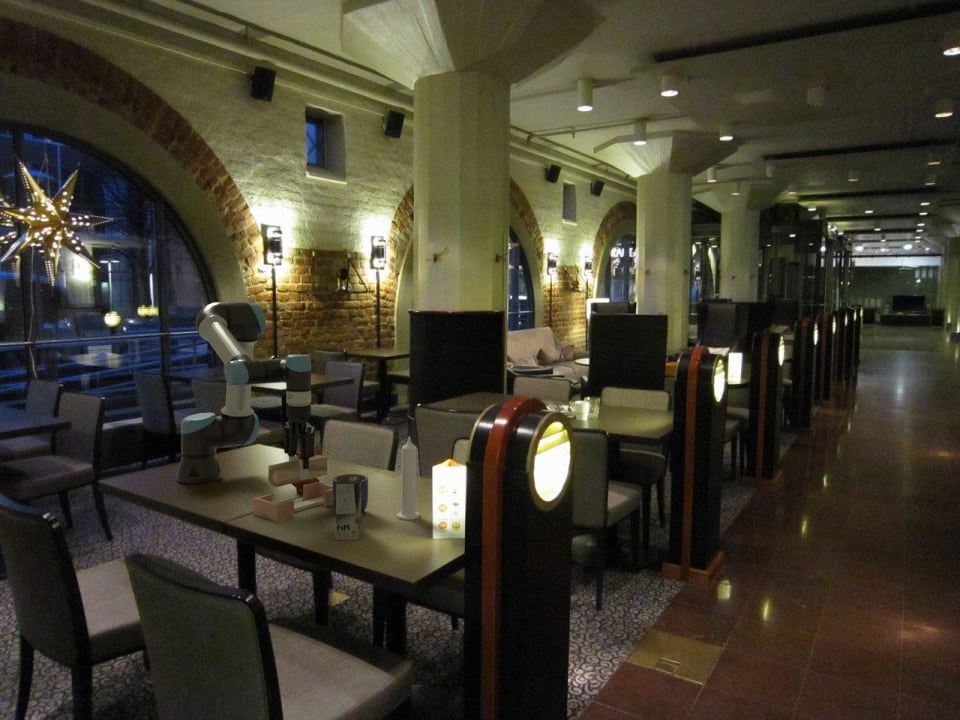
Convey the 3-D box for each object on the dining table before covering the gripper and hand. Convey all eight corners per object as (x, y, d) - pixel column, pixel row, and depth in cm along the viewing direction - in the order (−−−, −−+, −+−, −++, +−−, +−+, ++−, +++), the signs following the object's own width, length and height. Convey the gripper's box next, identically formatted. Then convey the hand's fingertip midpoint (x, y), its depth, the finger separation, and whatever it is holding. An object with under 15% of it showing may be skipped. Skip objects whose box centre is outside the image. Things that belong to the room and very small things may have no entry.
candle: (410, 521, 210) (411, 439, 207) (392, 517, 213) (392, 437, 211) (424, 515, 216) (425, 436, 213) (406, 511, 219) (407, 433, 217)
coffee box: (358, 540, 193) (358, 483, 191) (335, 540, 192) (335, 483, 191) (361, 529, 202) (361, 474, 201) (339, 529, 201) (339, 474, 200)
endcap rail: (253, 514, 213) (253, 498, 213) (317, 496, 234) (317, 481, 233) (277, 521, 207) (277, 505, 206) (341, 502, 227) (341, 487, 227)
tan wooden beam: (268, 485, 212) (268, 465, 212) (318, 472, 228) (318, 454, 228) (276, 487, 210) (276, 467, 209) (327, 474, 226) (327, 456, 226)
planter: (352, 520, 209) (353, 484, 208) (325, 514, 214) (325, 479, 213) (375, 511, 219) (375, 476, 218) (348, 505, 224) (348, 471, 223)
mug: (310, 496, 233) (310, 452, 232) (288, 494, 235) (288, 450, 234) (328, 485, 248) (328, 443, 246) (307, 483, 249) (307, 442, 248)
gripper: (271, 402, 219) (271, 475, 221) (307, 408, 209) (307, 484, 211) (290, 400, 225) (290, 471, 227) (326, 405, 215) (326, 479, 217)
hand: (299, 477), depth 219 cm, fingers closed on tan wooden beam, 4 cm apart
